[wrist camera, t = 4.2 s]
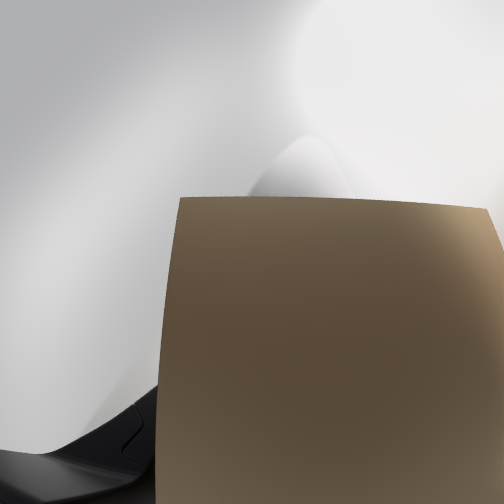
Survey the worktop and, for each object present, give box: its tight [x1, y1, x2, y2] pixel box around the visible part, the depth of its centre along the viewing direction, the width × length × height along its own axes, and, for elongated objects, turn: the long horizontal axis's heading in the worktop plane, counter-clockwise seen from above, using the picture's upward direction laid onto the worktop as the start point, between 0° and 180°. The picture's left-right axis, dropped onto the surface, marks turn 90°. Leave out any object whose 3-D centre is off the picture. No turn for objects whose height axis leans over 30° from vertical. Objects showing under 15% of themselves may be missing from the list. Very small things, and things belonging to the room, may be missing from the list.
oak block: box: [155, 197, 504, 504], centre depth 8 cm, size 5×5×12 cm
